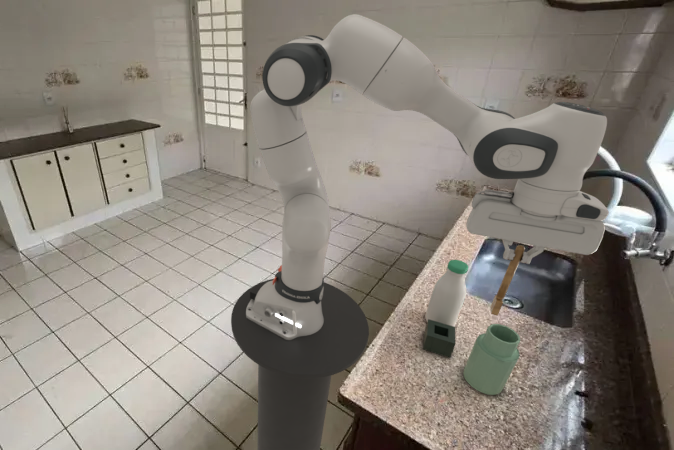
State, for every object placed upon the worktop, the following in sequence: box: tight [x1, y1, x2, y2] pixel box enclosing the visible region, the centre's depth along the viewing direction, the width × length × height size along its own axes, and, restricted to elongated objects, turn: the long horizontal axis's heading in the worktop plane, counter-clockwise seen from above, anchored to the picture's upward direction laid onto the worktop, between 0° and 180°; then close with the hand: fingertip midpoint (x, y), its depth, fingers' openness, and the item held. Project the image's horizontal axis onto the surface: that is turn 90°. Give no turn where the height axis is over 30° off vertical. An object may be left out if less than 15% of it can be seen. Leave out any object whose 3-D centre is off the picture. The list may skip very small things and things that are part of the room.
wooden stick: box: [489, 244, 526, 316], centre depth 72 cm, size 1×2×17 cm, turn 154°
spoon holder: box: [422, 319, 456, 358], centre depth 91 cm, size 6×6×5 cm
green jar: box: [463, 323, 521, 396], centre depth 79 cm, size 8×8×15 cm
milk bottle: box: [424, 259, 469, 328], centre depth 95 cm, size 8×8×20 cm
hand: (515, 260), depth 70 cm, fingers closed on wooden stick, 1 cm apart
